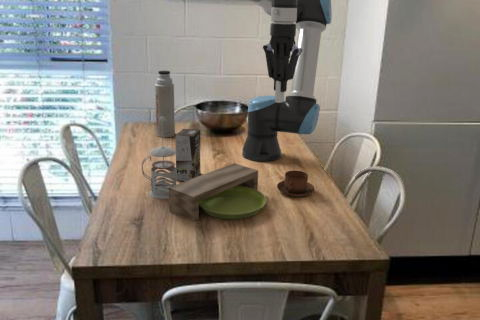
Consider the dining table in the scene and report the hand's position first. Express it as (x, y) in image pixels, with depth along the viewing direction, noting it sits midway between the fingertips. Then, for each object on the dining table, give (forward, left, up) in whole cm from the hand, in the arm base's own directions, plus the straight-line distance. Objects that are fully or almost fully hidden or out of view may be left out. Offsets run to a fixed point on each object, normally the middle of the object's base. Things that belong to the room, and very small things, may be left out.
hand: (279, 101), depth 156 cm
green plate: (+20, -1, -30) cm, 36 cm away
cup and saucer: (-3, +6, -30) cm, 31 cm away
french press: (+27, -25, -30) cm, 47 cm away
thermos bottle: (-18, -73, -30) cm, 81 cm away
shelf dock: (+20, -8, -29) cm, 36 cm away
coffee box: (+11, -29, -30) cm, 43 cm away
